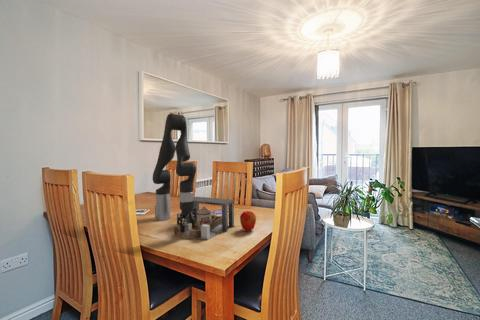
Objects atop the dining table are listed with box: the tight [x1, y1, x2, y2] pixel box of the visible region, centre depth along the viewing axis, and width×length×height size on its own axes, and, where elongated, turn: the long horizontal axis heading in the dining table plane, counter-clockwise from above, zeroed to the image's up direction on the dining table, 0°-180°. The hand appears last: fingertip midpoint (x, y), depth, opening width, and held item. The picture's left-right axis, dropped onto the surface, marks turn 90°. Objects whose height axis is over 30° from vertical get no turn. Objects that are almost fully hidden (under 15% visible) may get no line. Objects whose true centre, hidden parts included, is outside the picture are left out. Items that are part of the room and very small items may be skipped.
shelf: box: [185, 196, 235, 233], centre depth 142 cm, size 27×11×16 cm, turn 67°
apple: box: [239, 210, 257, 232], centre depth 134 cm, size 9×9×12 cm
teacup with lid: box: [196, 206, 217, 229], centre depth 144 cm, size 12×9×12 cm
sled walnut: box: [174, 214, 222, 240], centre depth 138 cm, size 16×30×7 cm, turn 157°
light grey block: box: [199, 224, 216, 241], centre depth 125 cm, size 4×8×7 cm, turn 157°
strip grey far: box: [211, 225, 222, 234], centre depth 136 cm, size 4×11×1 cm, turn 157°
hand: (187, 229), depth 126 cm, fingers open, 8 cm apart
